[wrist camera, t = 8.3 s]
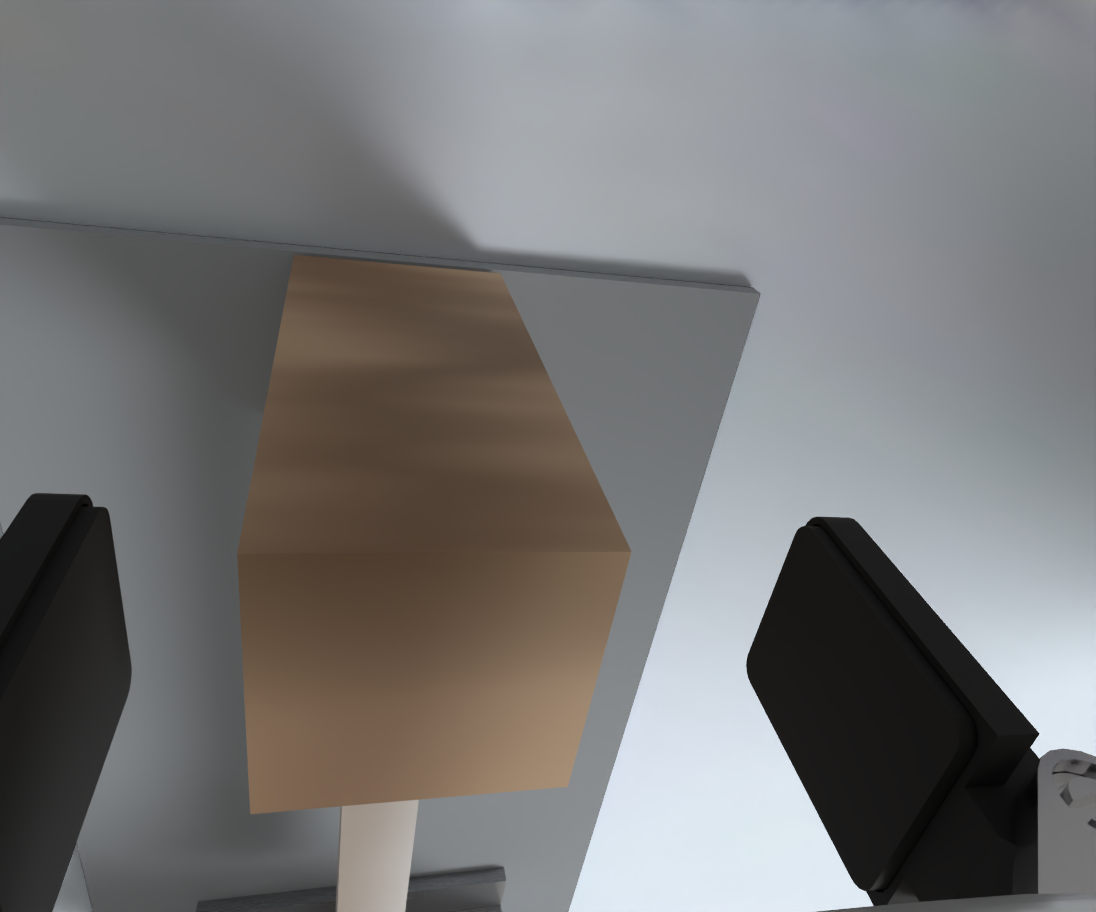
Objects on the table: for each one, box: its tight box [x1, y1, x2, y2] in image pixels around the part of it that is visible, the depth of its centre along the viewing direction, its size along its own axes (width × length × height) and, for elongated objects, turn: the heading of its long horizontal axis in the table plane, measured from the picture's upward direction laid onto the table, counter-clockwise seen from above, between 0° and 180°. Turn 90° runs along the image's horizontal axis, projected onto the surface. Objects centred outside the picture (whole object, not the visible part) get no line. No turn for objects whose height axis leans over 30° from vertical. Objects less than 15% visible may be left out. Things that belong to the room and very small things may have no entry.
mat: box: [0, 218, 760, 912], centre depth 24 cm, size 16×32×1 cm, turn 170°
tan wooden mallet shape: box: [237, 255, 631, 912], centre depth 17 cm, size 4×20×9 cm, turn 170°
